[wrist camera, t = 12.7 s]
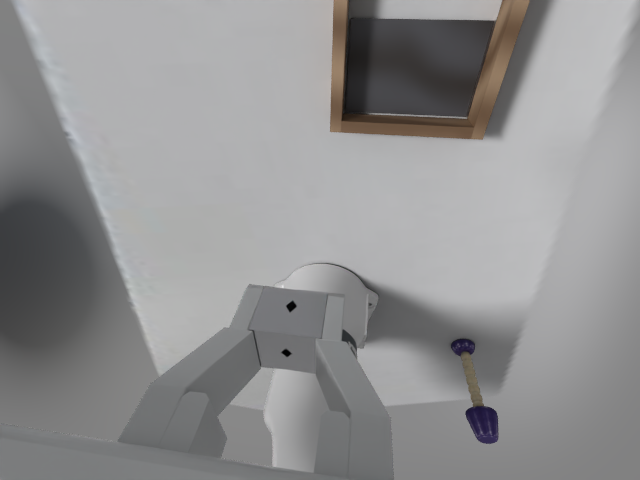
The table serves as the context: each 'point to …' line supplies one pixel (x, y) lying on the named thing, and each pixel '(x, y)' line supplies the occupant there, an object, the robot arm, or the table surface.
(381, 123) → the track
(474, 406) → the toy lamp
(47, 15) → the table surface
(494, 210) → the table surface
